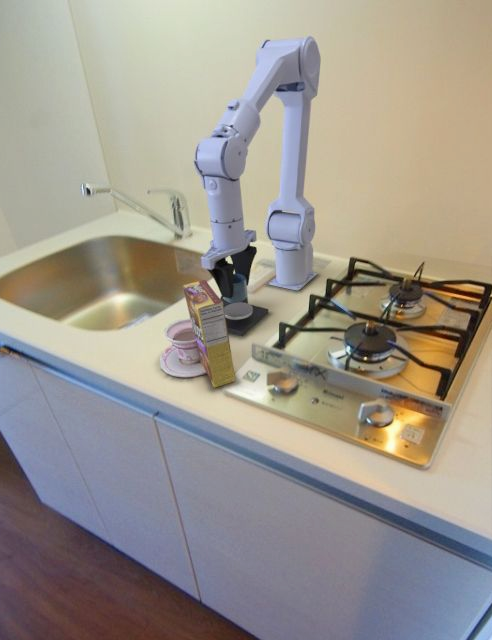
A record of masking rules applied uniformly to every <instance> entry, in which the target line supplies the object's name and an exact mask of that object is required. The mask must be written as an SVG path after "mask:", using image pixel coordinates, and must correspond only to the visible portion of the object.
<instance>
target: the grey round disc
mask: <svg viewBox="0 0 492 640" xmlns="http://www.w3.org/2000/svg"><path fill="white" fill-rule="evenodd" d="M251 305H252V304H250V303H249V302H248V303H243V302H238V303H232V304H229V305H227V306H226V307H224V312H225V317H226V318H228V319H233V320H239V319H244V318H247V317H249V316H250V315H251V314H252V313H253V308H252V306H251Z"/></svg>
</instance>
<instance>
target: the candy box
mask: <svg viewBox="0 0 492 640" xmlns="http://www.w3.org/2000/svg"><path fill="white" fill-rule="evenodd" d="M182 289H183V294H184V299H185V302H186V306H187V311H188V315H189V319H191V324H192V328H193V333H194V337H195V339H196V340H197V349H198V353H199V357H200V358H199V359H200V361H199V363H201V364H202V365H203V367H204V369H205V371H206V375H207V377H208V379H209V381H210V382H211V384H212V386H213V388H214V389H215V388H219V387H222V386H225V385H229V384H231V383H235V382H236V376H235V371H234V363H233V356H232V351H231V345H230V339H229V333H228V331H227V325H226V318H225V312H224V306H223V302H222V301H221V300H220V298H221V297H219V296H218V295H217V293H216V292H215V291H214V290H213V288H212V287H211V285H210V284H209V283H208V281H207V280H206V279H203V280H199V281H195V282H191V283H190V282H189V283H187V284H184V285H182Z"/></svg>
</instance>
